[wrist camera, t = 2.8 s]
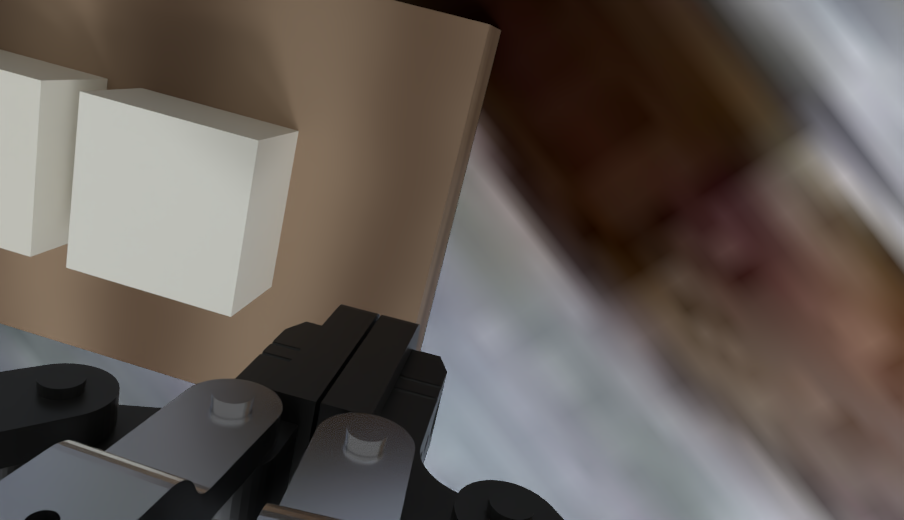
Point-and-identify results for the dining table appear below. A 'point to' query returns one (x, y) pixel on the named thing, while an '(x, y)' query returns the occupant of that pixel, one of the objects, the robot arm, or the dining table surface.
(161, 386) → the dining table surface
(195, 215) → the tile
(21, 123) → the tile
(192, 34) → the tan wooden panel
